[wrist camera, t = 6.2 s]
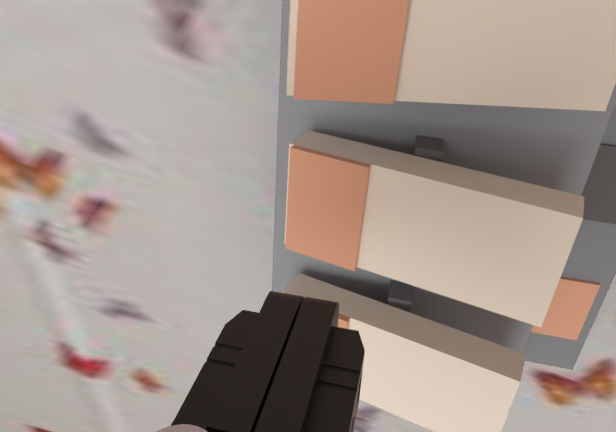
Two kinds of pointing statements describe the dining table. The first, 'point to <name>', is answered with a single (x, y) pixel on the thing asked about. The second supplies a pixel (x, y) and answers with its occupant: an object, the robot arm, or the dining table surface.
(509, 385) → the rocker
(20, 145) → the dining table surface
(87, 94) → the dining table surface
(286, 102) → the switch unit
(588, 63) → the block
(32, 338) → the dining table surface
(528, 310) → the rocker
